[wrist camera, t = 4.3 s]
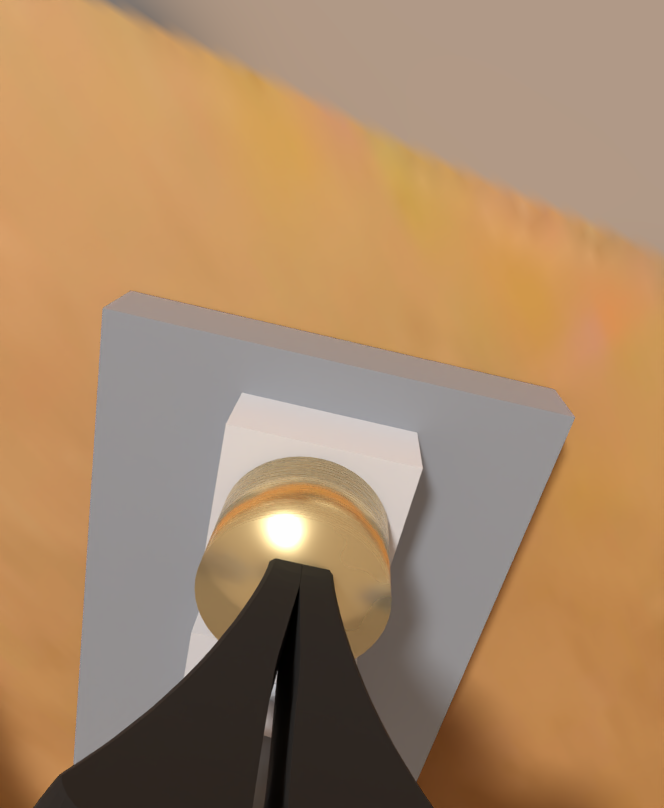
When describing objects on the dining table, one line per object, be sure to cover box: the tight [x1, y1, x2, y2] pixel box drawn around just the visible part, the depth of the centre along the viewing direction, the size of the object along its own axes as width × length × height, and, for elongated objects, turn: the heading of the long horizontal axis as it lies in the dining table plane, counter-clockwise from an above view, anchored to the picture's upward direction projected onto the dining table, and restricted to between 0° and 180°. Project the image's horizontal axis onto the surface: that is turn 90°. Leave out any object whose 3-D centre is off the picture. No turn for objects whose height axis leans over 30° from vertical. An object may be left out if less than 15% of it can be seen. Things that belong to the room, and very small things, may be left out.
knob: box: [194, 456, 392, 659], centre depth 15 cm, size 4×4×5 cm
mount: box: [74, 291, 575, 782], centre depth 20 cm, size 13×22×4 cm, turn 167°
